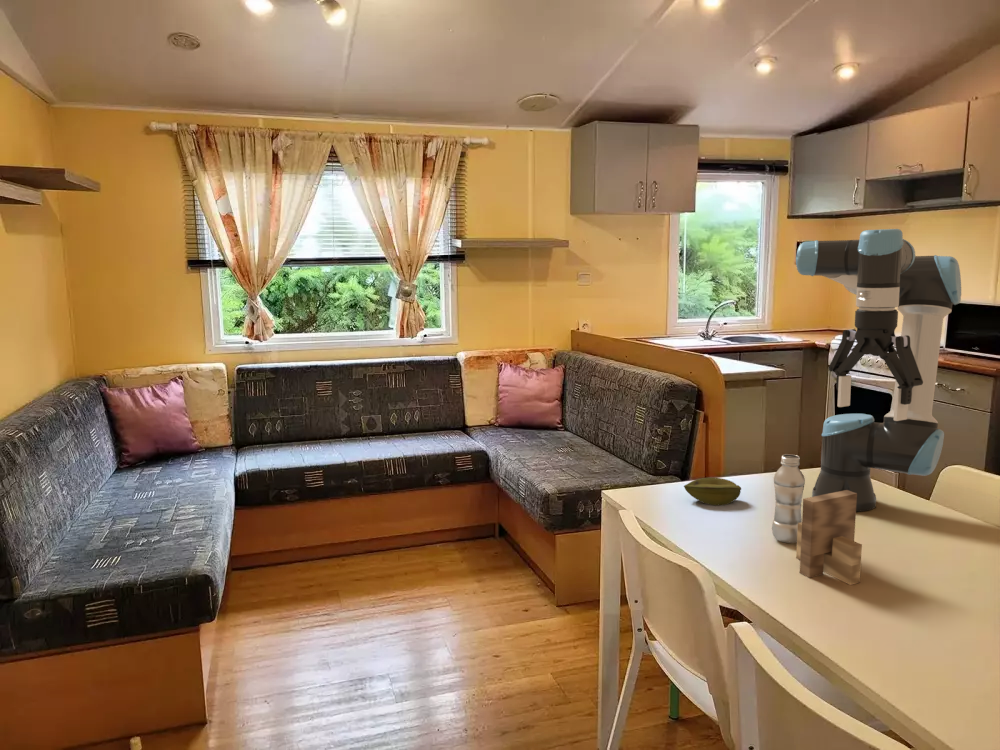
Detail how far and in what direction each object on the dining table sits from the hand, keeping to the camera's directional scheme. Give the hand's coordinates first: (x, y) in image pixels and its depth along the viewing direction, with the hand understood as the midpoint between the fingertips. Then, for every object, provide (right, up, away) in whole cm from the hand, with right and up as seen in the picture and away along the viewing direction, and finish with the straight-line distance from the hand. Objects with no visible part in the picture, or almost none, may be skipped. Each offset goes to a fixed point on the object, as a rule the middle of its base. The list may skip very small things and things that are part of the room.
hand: (870, 412), depth 144 cm
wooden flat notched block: (-8, -33, +3) cm, 34 cm away
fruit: (-18, -26, +45) cm, 55 cm away
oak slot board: (-8, -33, +3) cm, 34 cm away
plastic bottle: (-10, -30, +18) cm, 37 cm away
